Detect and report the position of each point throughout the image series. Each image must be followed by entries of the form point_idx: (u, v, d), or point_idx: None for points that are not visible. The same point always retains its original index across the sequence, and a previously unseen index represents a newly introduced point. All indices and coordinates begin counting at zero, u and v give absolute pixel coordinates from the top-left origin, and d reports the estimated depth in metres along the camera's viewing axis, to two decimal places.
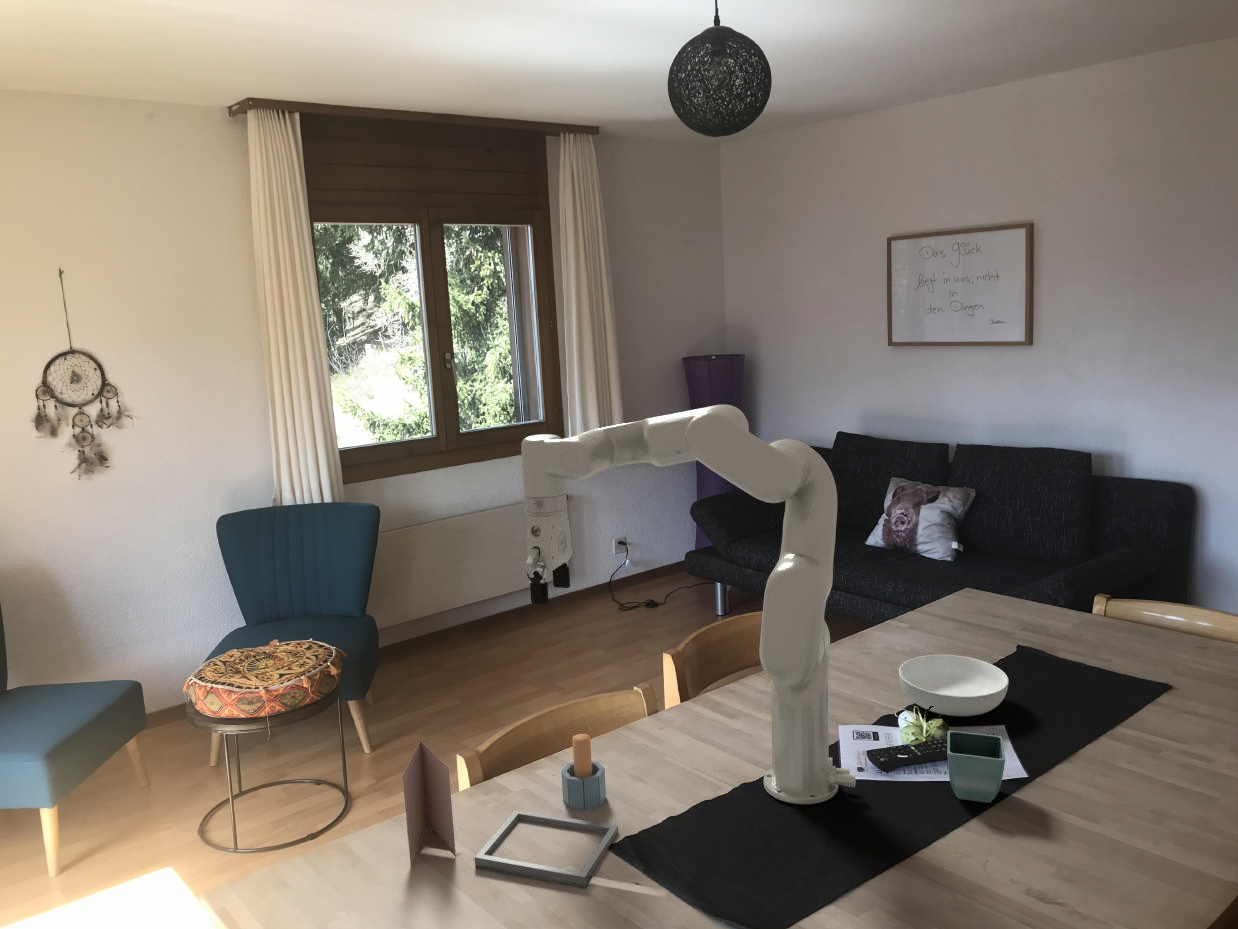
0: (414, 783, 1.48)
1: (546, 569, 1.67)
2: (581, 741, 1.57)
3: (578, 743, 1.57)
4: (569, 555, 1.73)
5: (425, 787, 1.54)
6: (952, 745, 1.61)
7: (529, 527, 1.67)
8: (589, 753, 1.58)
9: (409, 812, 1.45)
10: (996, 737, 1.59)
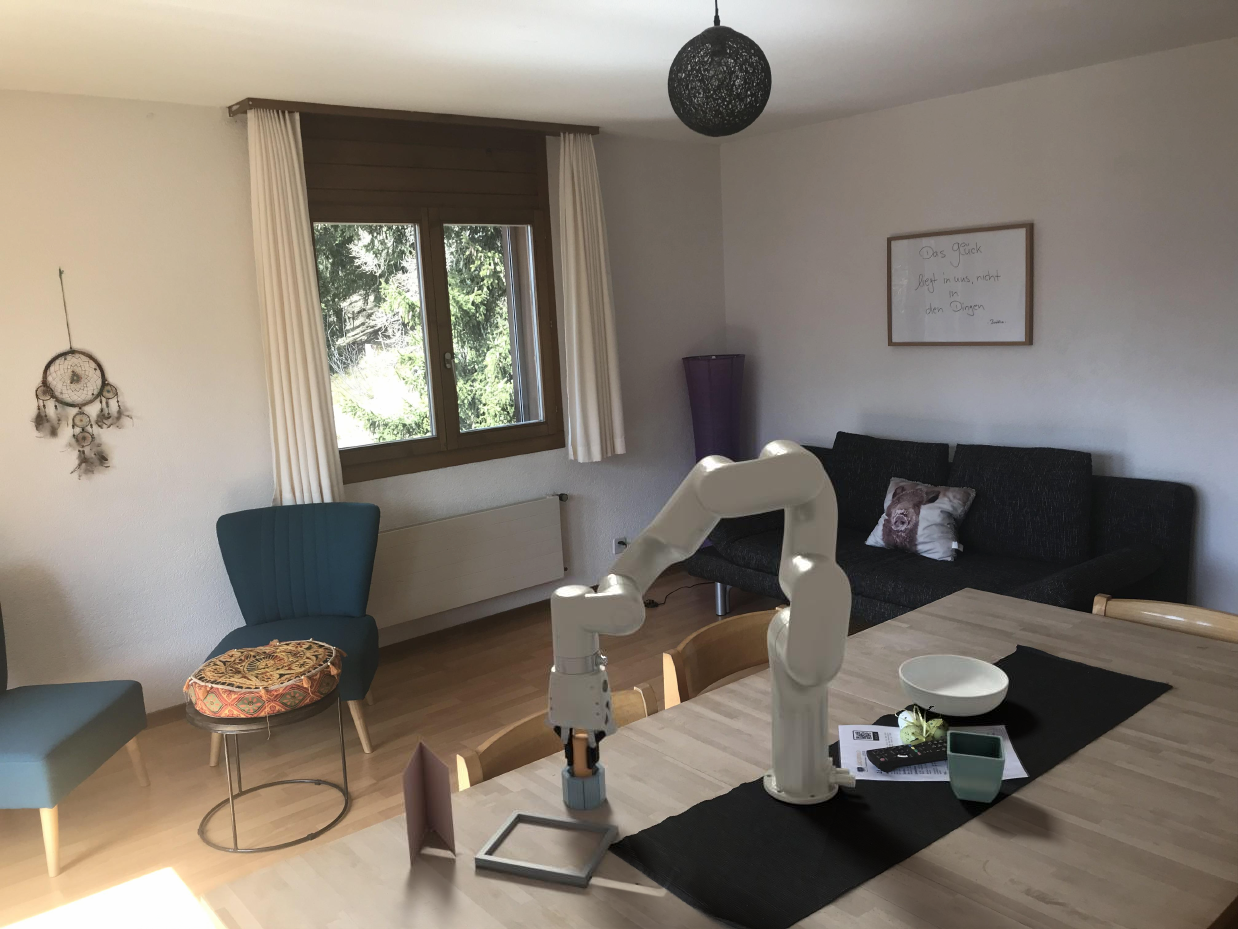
0: (414, 783, 1.48)
1: None
2: (581, 741, 1.57)
3: (578, 743, 1.57)
4: None
5: (425, 787, 1.54)
6: (952, 745, 1.61)
7: (600, 685, 1.54)
8: None
9: (409, 812, 1.45)
10: (996, 737, 1.59)
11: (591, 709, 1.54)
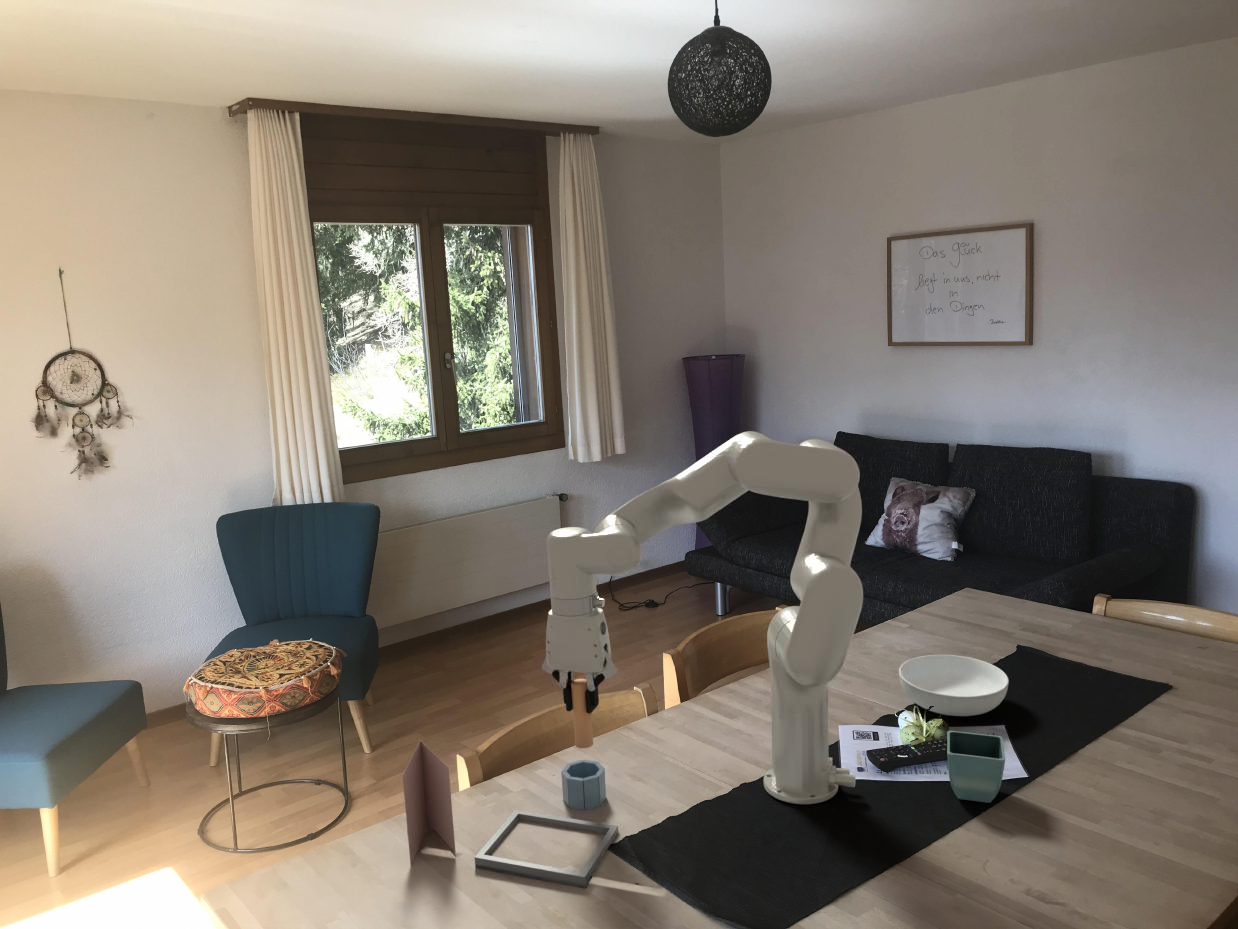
0: (414, 783, 1.48)
1: None
2: (579, 685, 1.56)
3: (576, 687, 1.55)
4: None
5: (425, 787, 1.54)
6: (952, 745, 1.61)
7: (598, 627, 1.52)
8: None
9: (409, 812, 1.45)
10: (996, 737, 1.59)
11: (589, 651, 1.52)
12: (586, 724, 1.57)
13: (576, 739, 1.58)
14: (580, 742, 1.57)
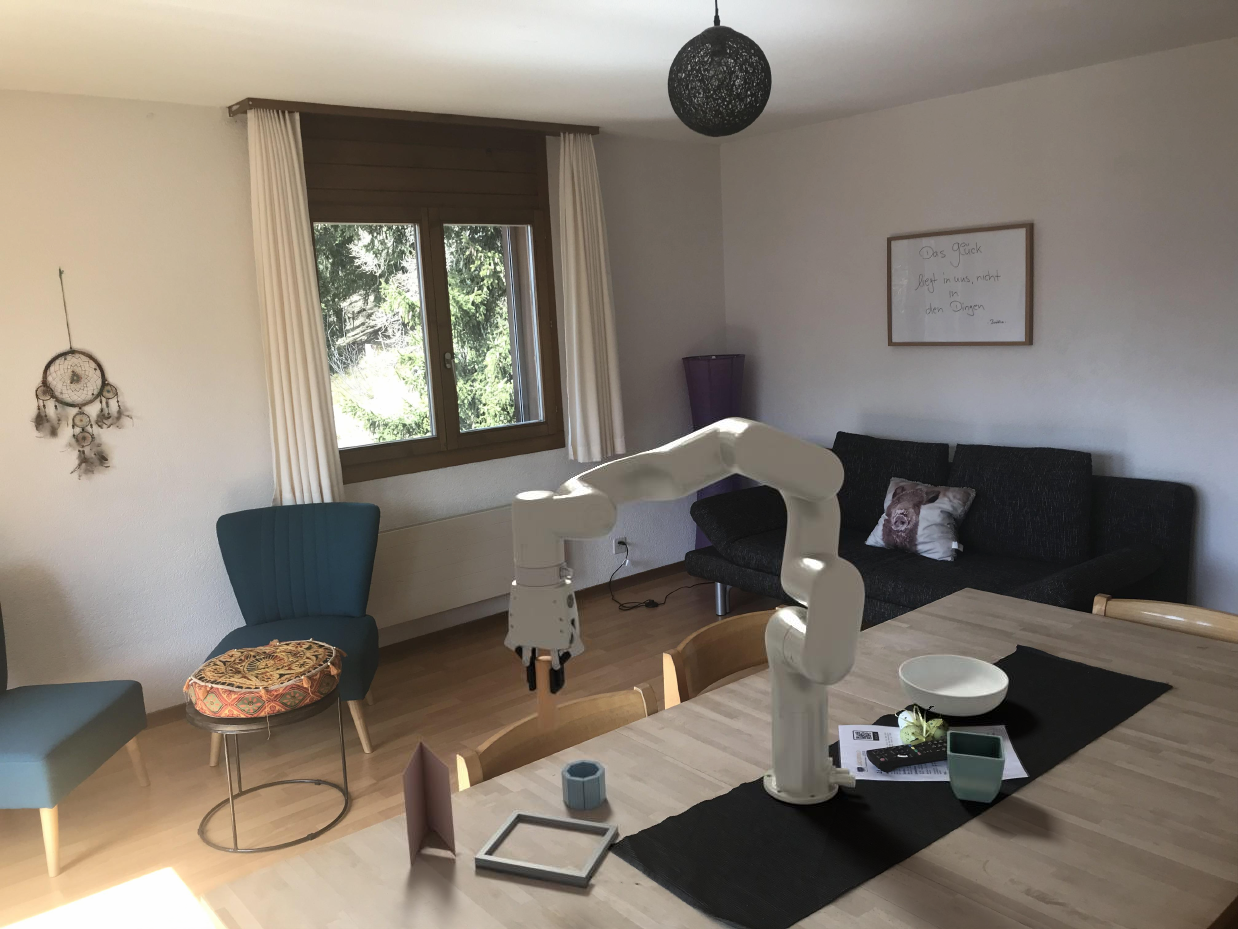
0: (414, 783, 1.48)
1: None
2: (544, 662, 1.43)
3: (540, 665, 1.43)
4: None
5: (425, 787, 1.54)
6: (952, 745, 1.61)
7: (565, 599, 1.40)
8: None
9: (409, 812, 1.45)
10: (996, 737, 1.59)
11: (554, 626, 1.40)
12: (550, 706, 1.44)
13: (539, 721, 1.45)
14: (544, 725, 1.45)
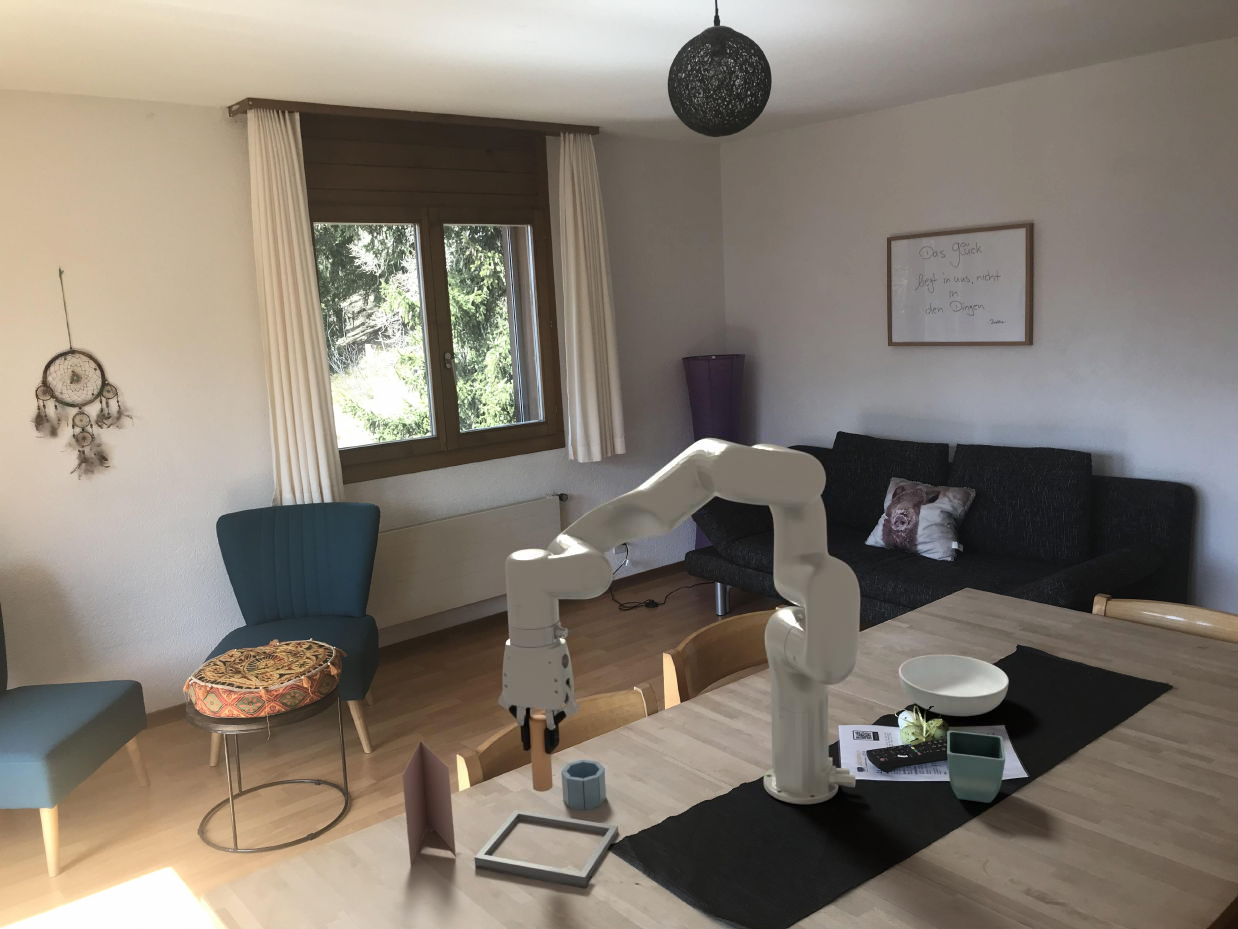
0: (414, 783, 1.48)
1: None
2: (538, 722, 1.42)
3: (535, 725, 1.41)
4: None
5: (425, 787, 1.54)
6: (952, 745, 1.61)
7: (560, 660, 1.38)
8: None
9: (409, 812, 1.45)
10: (996, 737, 1.59)
11: (549, 686, 1.38)
12: (545, 766, 1.43)
13: (534, 781, 1.44)
14: (538, 785, 1.43)
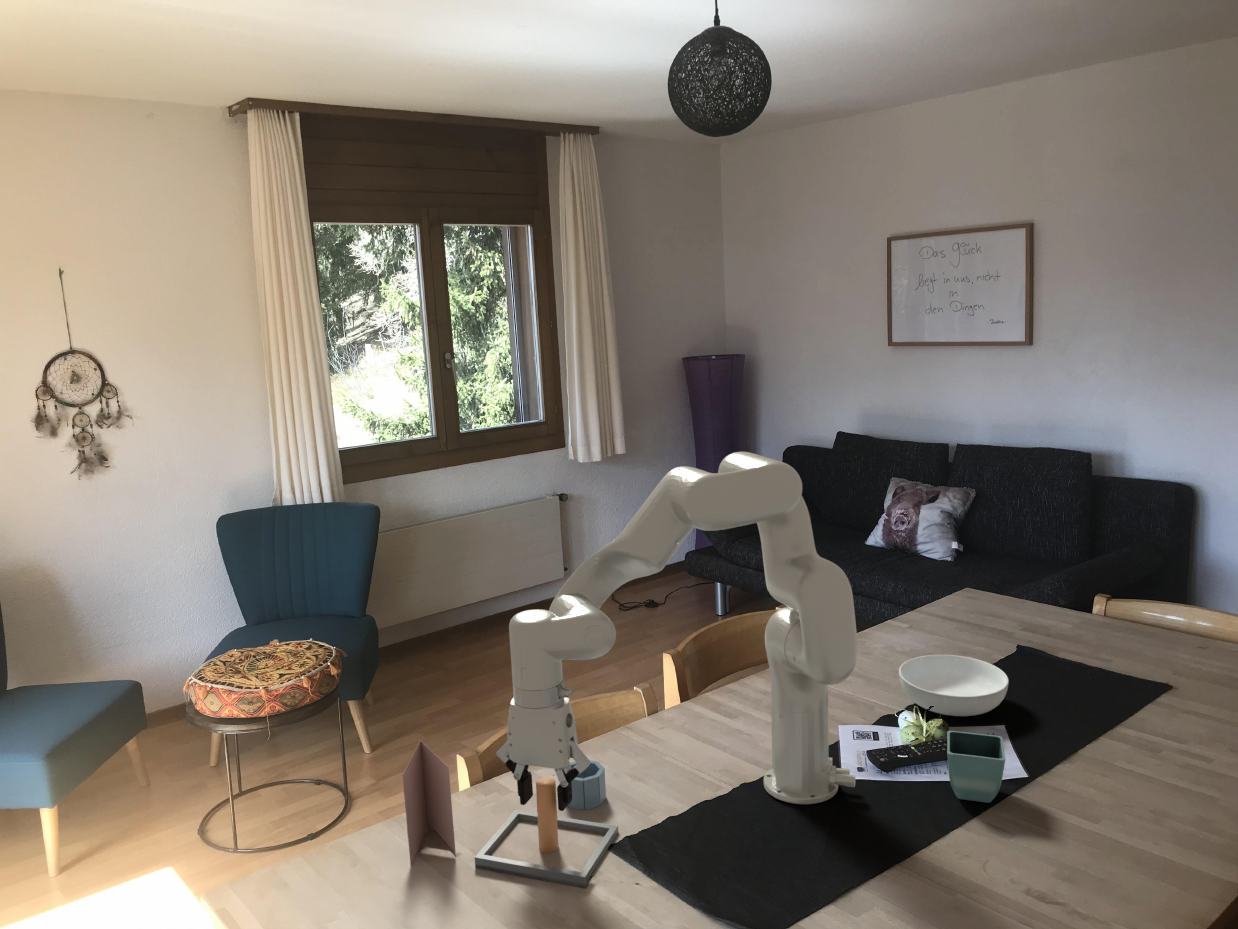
0: (414, 783, 1.48)
1: None
2: (545, 786, 1.43)
3: (542, 789, 1.43)
4: None
5: (425, 787, 1.54)
6: (952, 745, 1.61)
7: (564, 720, 1.40)
8: (554, 799, 1.44)
9: (409, 812, 1.45)
10: (996, 737, 1.59)
11: (553, 746, 1.40)
12: (551, 829, 1.44)
13: (540, 843, 1.45)
14: (544, 847, 1.45)
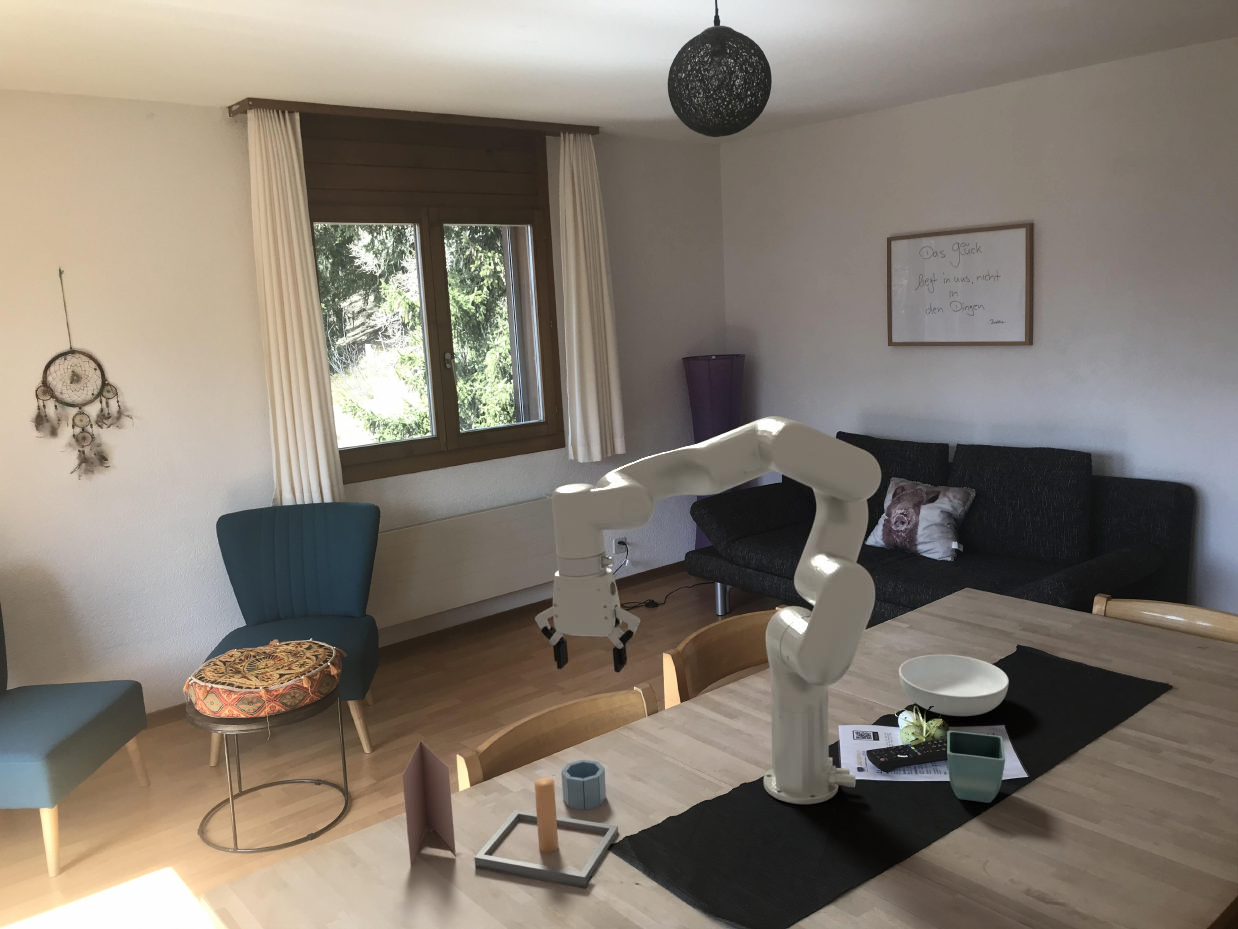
0: (414, 783, 1.48)
1: (616, 628, 1.49)
2: (543, 786, 1.43)
3: (540, 789, 1.43)
4: None
5: (425, 787, 1.54)
6: (952, 745, 1.61)
7: (608, 587, 1.45)
8: (553, 799, 1.44)
9: (409, 812, 1.45)
10: (996, 737, 1.59)
11: (599, 613, 1.45)
12: (550, 828, 1.44)
13: (540, 843, 1.45)
14: (544, 847, 1.45)
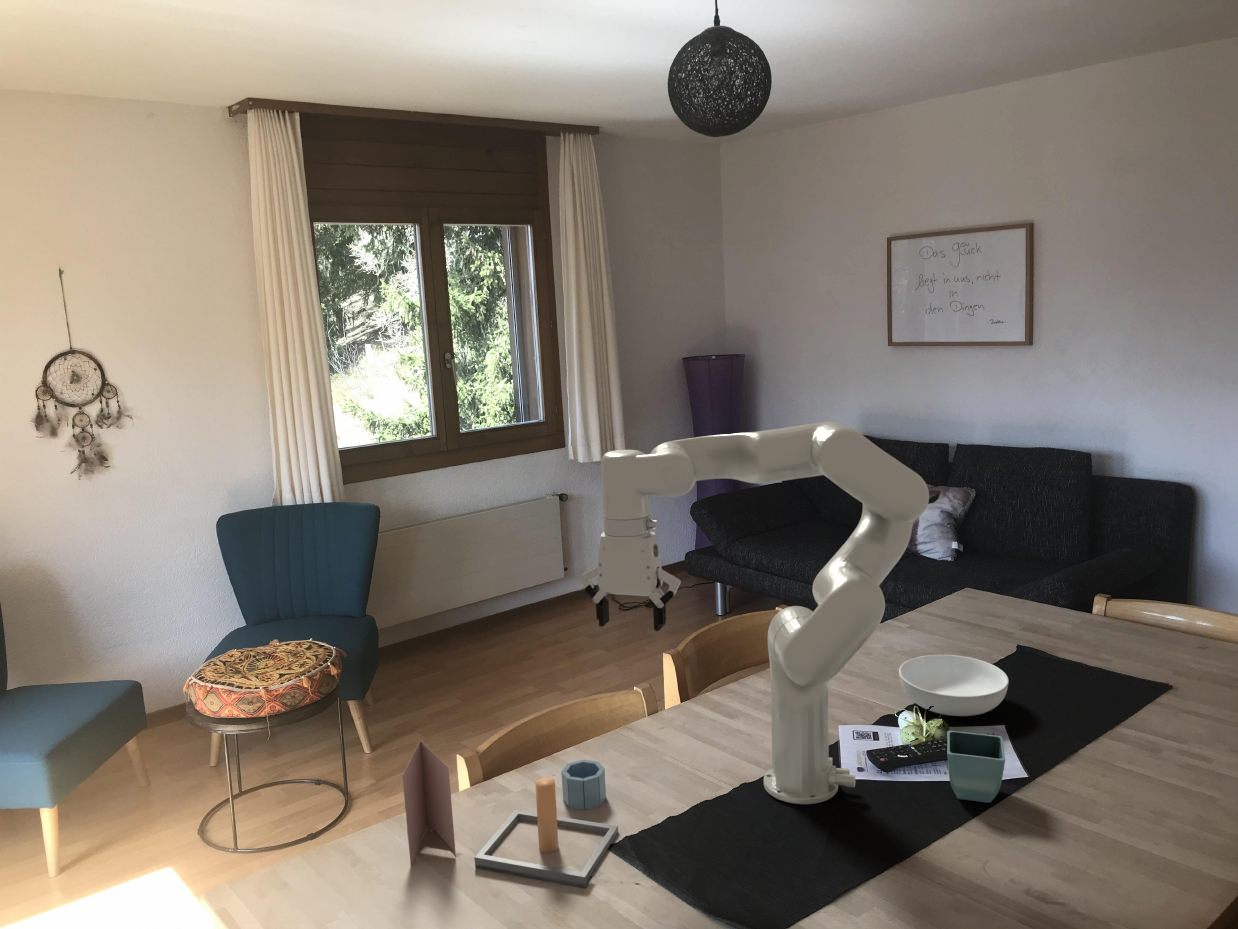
0: (414, 783, 1.48)
1: (657, 590, 1.56)
2: (544, 786, 1.43)
3: (541, 789, 1.43)
4: None
5: (425, 787, 1.54)
6: (952, 745, 1.61)
7: (651, 549, 1.52)
8: (553, 799, 1.44)
9: (409, 812, 1.45)
10: (996, 737, 1.59)
11: (642, 573, 1.52)
12: (551, 829, 1.44)
13: (540, 843, 1.45)
14: (544, 847, 1.45)
